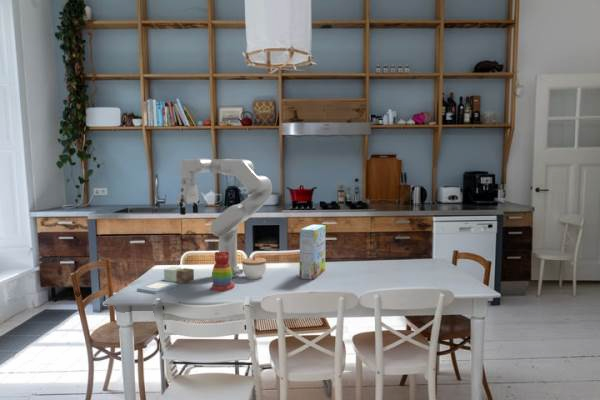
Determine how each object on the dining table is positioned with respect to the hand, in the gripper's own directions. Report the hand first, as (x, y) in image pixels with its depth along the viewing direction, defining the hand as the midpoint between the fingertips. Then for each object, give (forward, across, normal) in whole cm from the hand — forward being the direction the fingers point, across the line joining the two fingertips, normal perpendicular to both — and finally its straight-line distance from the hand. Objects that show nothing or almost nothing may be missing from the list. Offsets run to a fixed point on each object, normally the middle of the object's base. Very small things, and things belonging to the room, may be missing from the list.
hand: (189, 213), depth 229 cm
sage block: (+33, -15, -2) cm, 36 cm away
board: (+33, -30, -6) cm, 45 cm away
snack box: (+33, +25, -62) cm, 75 cm away
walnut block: (+33, -15, -10) cm, 37 cm away
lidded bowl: (+33, +7, -37) cm, 50 cm away
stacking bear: (+33, -17, -35) cm, 51 cm away
